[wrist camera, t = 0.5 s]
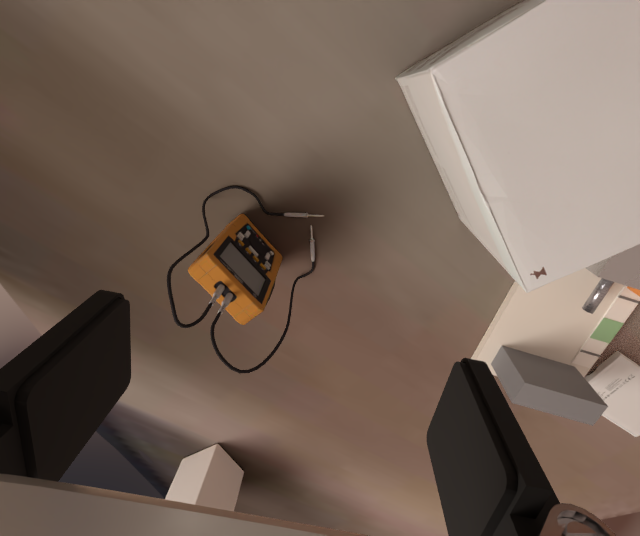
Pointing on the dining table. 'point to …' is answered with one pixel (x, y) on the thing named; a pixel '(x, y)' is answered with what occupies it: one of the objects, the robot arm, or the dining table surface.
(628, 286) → the small orange block
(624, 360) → the external hard drive
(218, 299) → the multimeter
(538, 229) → the supplement box
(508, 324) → the base
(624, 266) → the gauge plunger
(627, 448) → the dining table surface
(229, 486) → the milk carton
